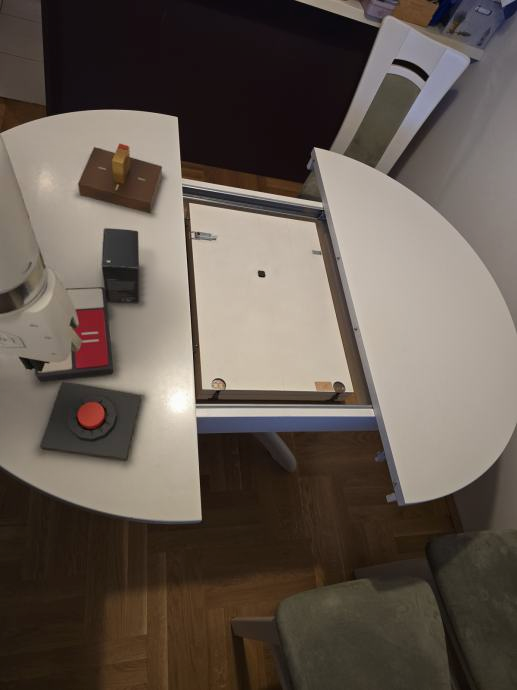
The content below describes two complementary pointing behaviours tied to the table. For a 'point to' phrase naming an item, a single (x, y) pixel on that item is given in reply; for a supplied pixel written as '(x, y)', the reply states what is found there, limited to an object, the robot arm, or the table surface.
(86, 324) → the calculator
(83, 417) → the bell button
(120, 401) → the bell block
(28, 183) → the table surface
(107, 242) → the box
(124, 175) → the lock knob
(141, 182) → the plate
